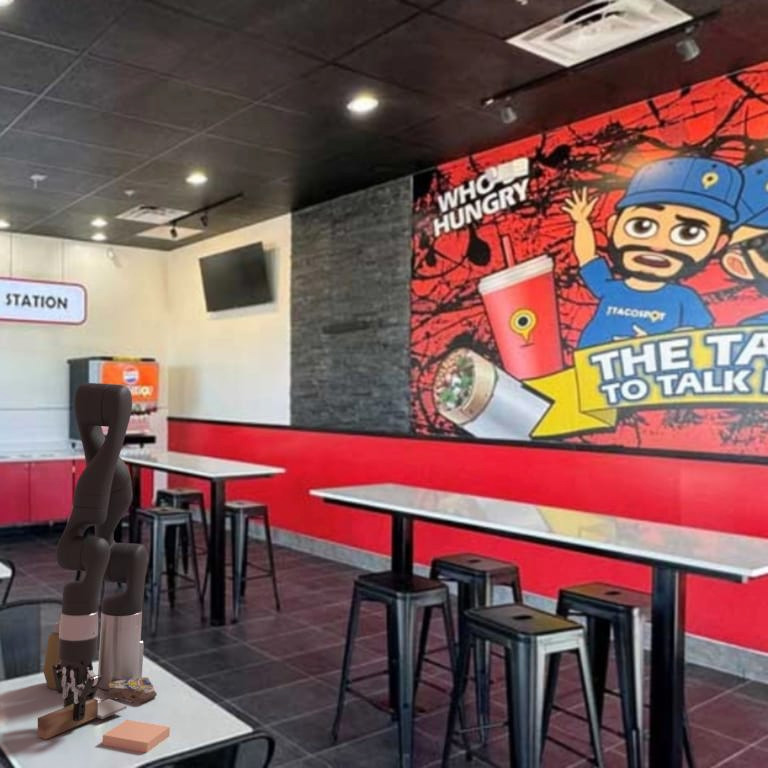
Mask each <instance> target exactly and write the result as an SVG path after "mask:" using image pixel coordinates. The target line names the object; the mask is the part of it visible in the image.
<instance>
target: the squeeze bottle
mask: <svg viewBox="0 0 768 768" xmlns="http://www.w3.org/2000/svg"><path fill="white" fill-rule="evenodd" d="M61 615H62V612H61V614H60V617H59V621H58V622H55V623H54V624H53V632H52V633H51V634H50V635H48V640H47V646H46V653H45V658H44V663H43V664H44V665H43V671H42V672H43V675H44V679H45V682H46V685H47V687H48V688H49V689H52V690H57V688H56V683H55V679H54V674H53V669H52V666H53V665H55V664H58V663H61V659H59V658H58V644H59V628H60V620H61ZM61 685H62V681H61Z"/></svg>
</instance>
